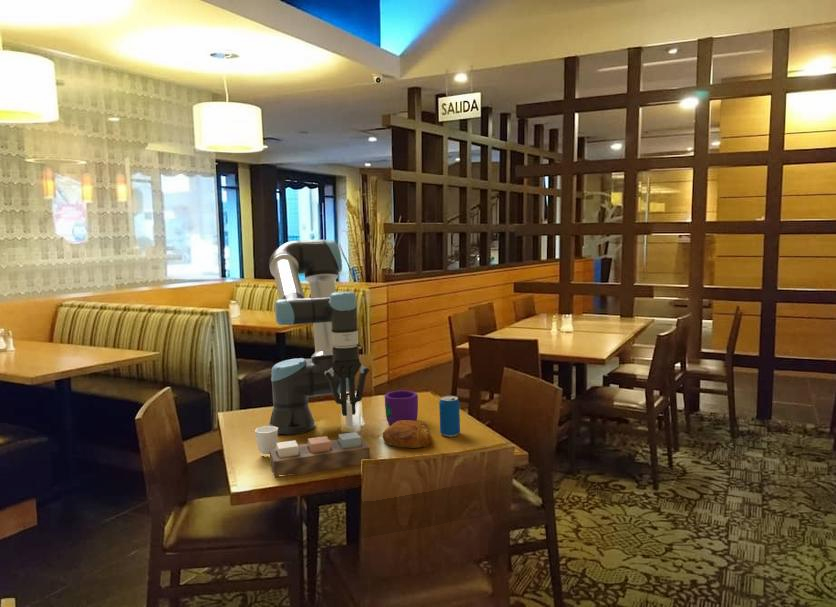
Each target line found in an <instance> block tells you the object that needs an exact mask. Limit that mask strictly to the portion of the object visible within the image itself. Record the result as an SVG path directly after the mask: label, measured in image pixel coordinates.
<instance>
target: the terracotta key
mask: <svg viewBox="0 0 836 607" xmlns="http://www.w3.org/2000/svg"><path fill="white" fill-rule="evenodd" d="M307 444H308V449H309V452H310V453H315V452H322V451H329V450H330V439H329V438H328V436H327V435H325V436H323V435H322V436H318V437H311V438H310V437H309V438H307Z"/></svg>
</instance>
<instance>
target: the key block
mask: <svg viewBox="0 0 836 607" xmlns="http://www.w3.org/2000/svg"><path fill="white" fill-rule="evenodd" d="M359 436H360V437H361V446H357V447H350V448H343V449H342V448H341V447H340V445H339V438H338V439H337V438H336V439H331V440H330V439H329V441H330V450H329V451H322V452H315V453H310V452H309V449H308V443H302V444H297V445H298V450H299V455H295V456H288V457H281V458H278V457H277V447H276V448H272V449H269V451H270V457H269V463H271V465H270V467H272V468H271V471H272V470H273V471H272V473H274V474H273V477H274V476H279V475H287V476H290V475H289V474H294V475H299V474H298V473H300V474H305V473H306V472H307V473H314V472H320V471H326V470H333V469H339V468H346V467H351V466H358V465H362V464H361V460H362V459H370V460H371V449H370V448H371V447H370V445H368V444H367V442H366V441H365V440H364V439H363V437H362V436H361V435H359Z"/></svg>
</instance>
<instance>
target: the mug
mask: <svg viewBox="0 0 836 607" xmlns="http://www.w3.org/2000/svg"><path fill="white" fill-rule="evenodd" d="M384 407H385V408H384V409H385V418H386V421H387V423H388V424H389V425H390V426H391V425H392V424H393V423H395V422H397V421H400V420H411V421H418V414H419V398H418V393H417V392H415V391H413V390H412V391H411V390H406V389H405V390H403V389H402V390H393V391H389V392H386V393H385V395H384Z"/></svg>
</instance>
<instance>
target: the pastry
mask: <svg viewBox="0 0 836 607" xmlns="http://www.w3.org/2000/svg"><path fill="white" fill-rule="evenodd" d="M382 440H383V442H384V443H385V444H386V445H389V446H390V445H391V446H395V447H400V448H408V449H410V448H411V449H412V448H414V449H417V448H418V449H419V448H422V447H424V448H425V447H427V446H429V445H430V443H431V441H432V434H431V431H430V430H429V427H428V426H427V425H426V424H425V423H423V422H422V421H418V420H416V421H411V420H400V421H397V422H395V423H393V424H392V425H391V424H390V426H388V427H387V428H386V429H384V431H383V432H382Z"/></svg>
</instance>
